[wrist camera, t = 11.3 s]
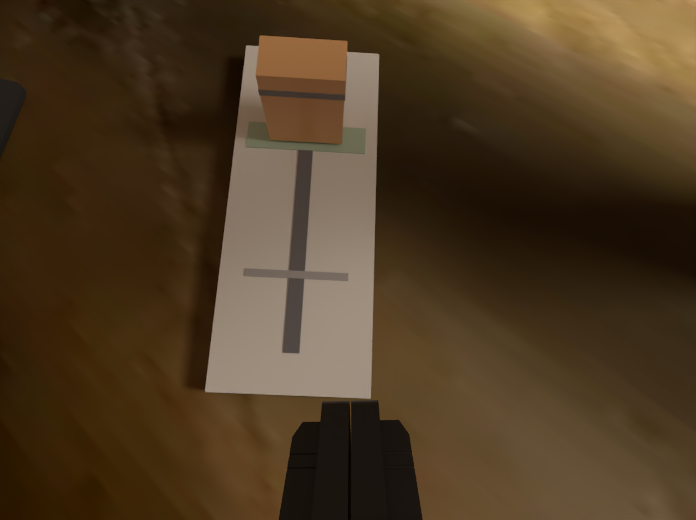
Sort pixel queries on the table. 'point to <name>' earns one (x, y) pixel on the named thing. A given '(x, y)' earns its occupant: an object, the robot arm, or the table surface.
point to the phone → (9, 108)
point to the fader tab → (302, 88)
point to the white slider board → (299, 252)
